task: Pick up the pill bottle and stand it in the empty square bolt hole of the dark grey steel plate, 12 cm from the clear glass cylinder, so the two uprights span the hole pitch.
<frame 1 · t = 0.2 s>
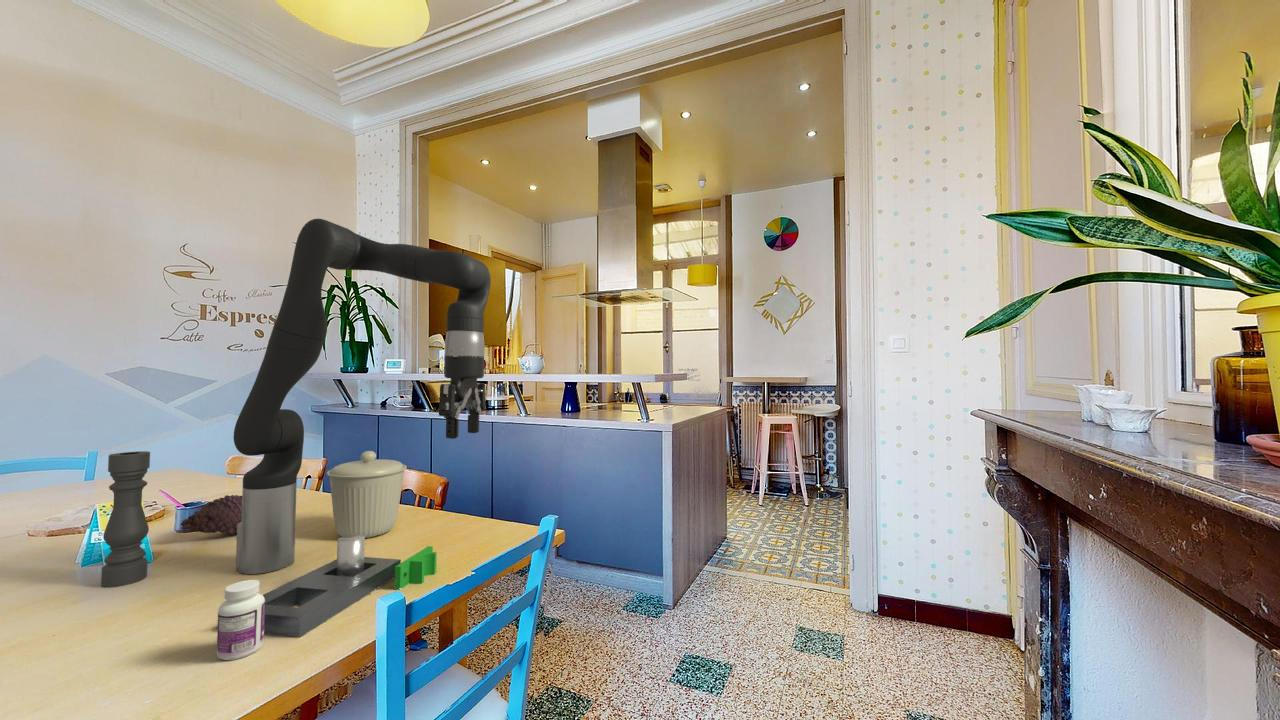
hand: (463, 435, 96), 29 cm above the table, tool pointing down, fingers open, 8 cm apart
pine cone: (227, 536, 121), on the table
canister: (366, 533, 124), on the table
candle holder: (124, 581, 94), on the table
clear glass cylinder: (350, 584, 93), resting in hole plate
pill bottle: (240, 652, 71), on the table
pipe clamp: (419, 579, 97), on the table
hole plate: (325, 598, 87), on the table
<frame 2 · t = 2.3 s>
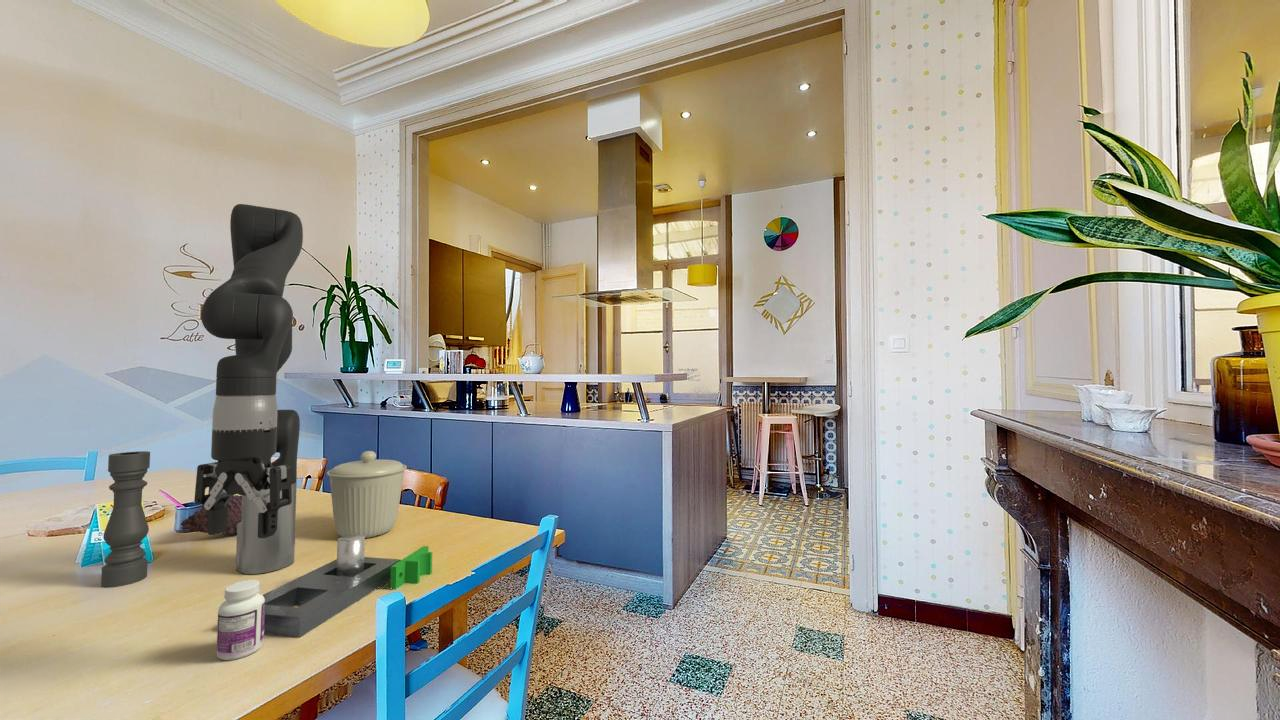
hand: (241, 535, 71), 17 cm above the table, tool pointing down, fingers open, 8 cm apart
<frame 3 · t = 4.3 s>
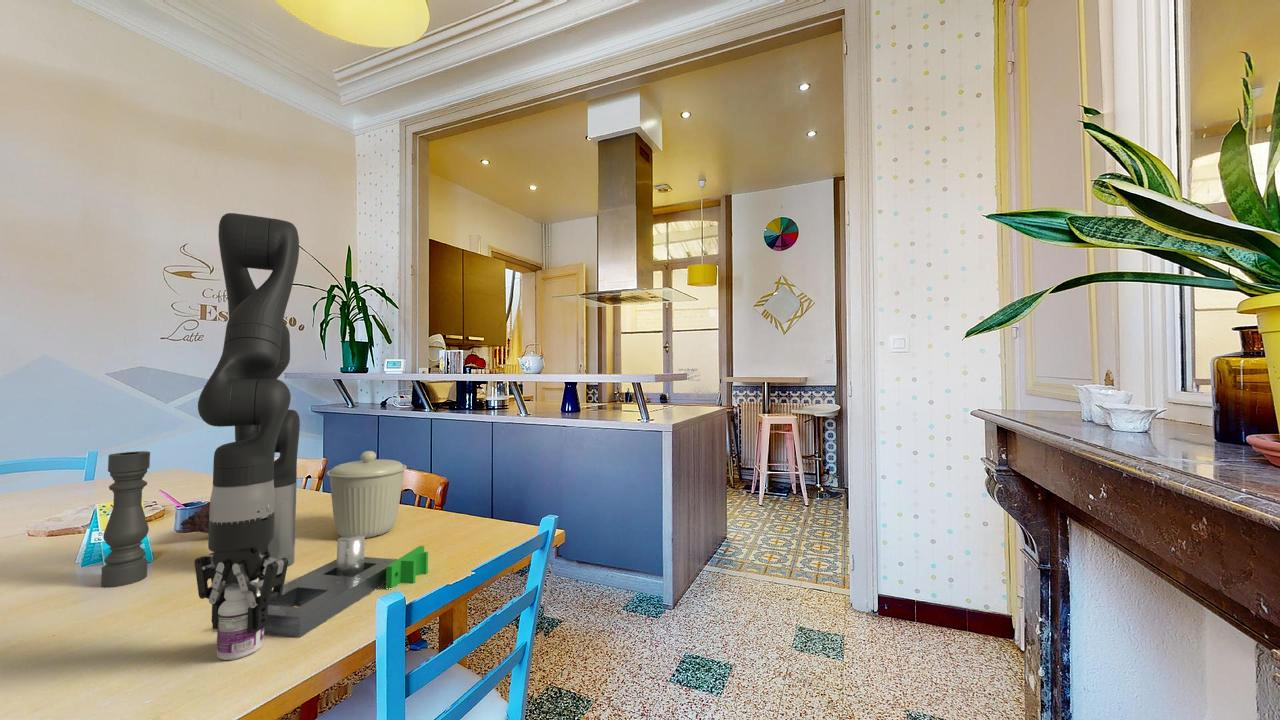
hand: (239, 628, 70), 4 cm above the table, tool pointing down, fingers closed on pill bottle, 5 cm apart
pill bottle: (240, 652, 71), on the table, touching gripper
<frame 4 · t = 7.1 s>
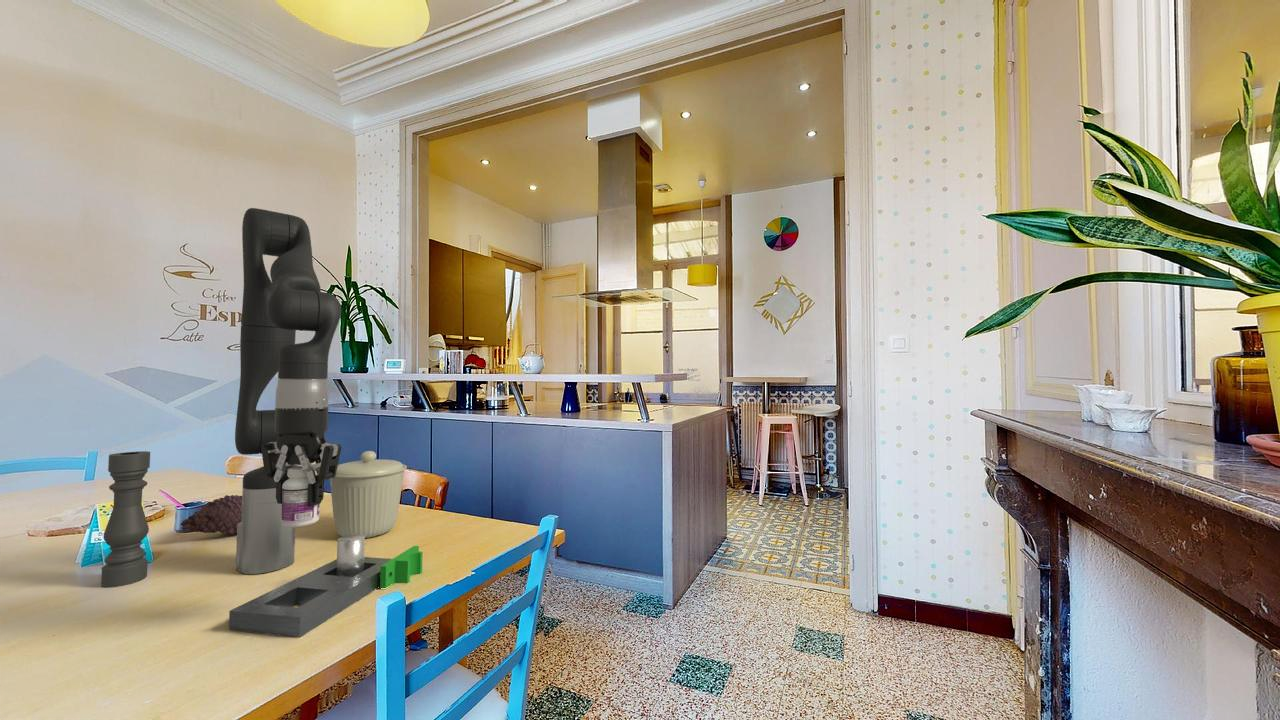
hand: (299, 503, 82), 19 cm above the table, tool pointing down, fingers closed on pill bottle, 5 cm apart
pill bottle: (300, 524, 82), point 15 cm above the table, touching gripper
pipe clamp: (405, 579, 97), on the table
everything else where it was.
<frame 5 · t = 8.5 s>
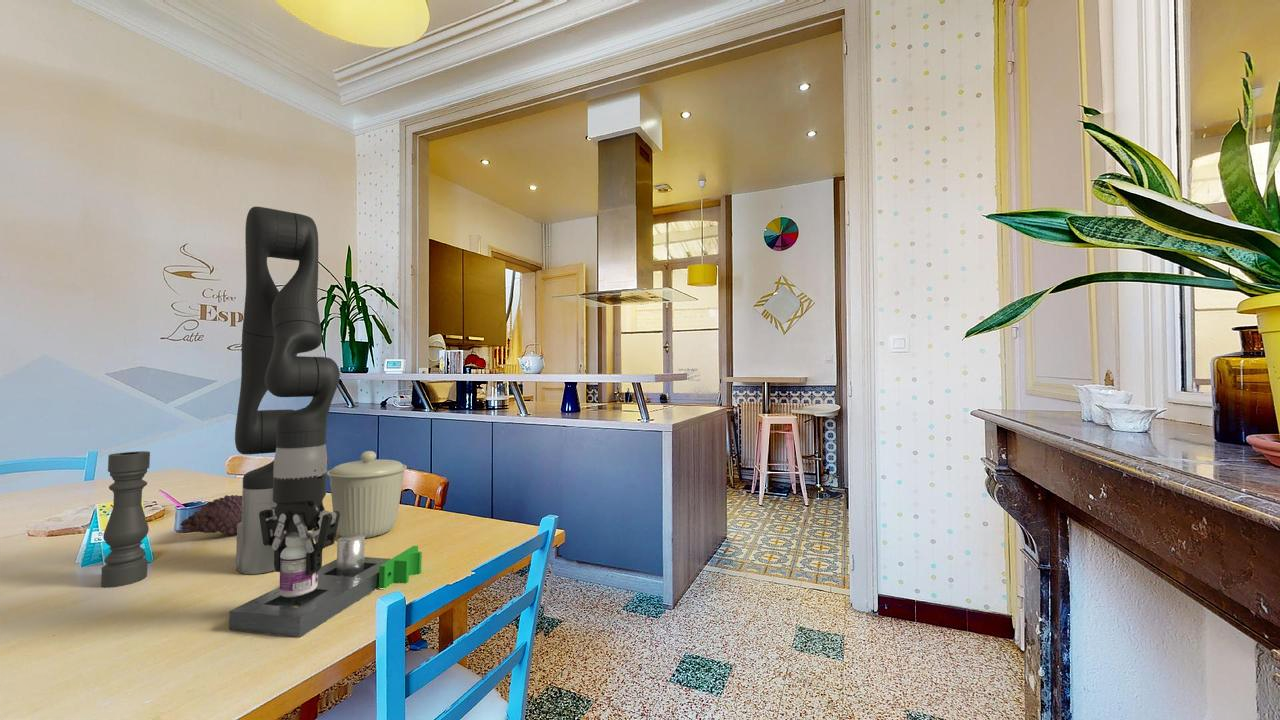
hand: (297, 571, 82), 7 cm above the table, tool pointing down, fingers closed on pill bottle, 5 cm apart
pill bottle: (298, 592, 82), point 4 cm above the table, touching gripper
everything else where it was.
when the fingers open (5 cm above the table, at t = 9.8 s): pill bottle drops 1 cm, resting in hole plate.
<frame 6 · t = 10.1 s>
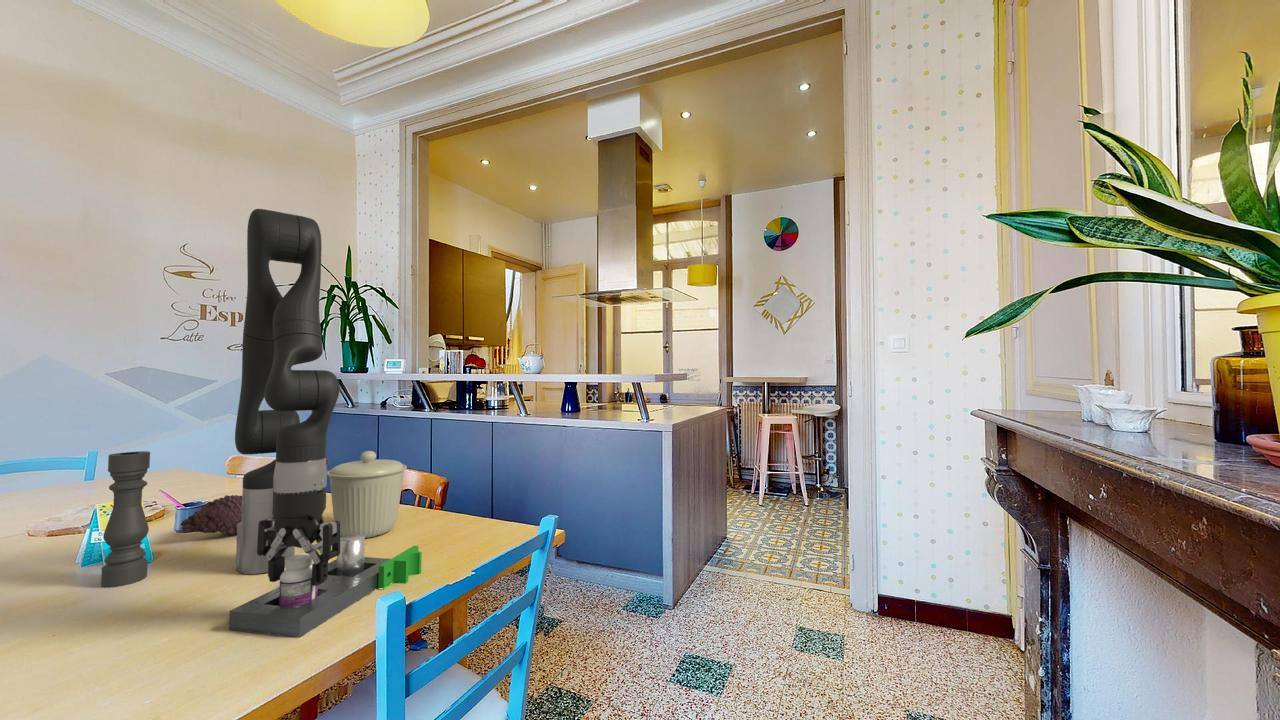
hand: (297, 582, 82), 6 cm above the table, tool pointing down, fingers open, 8 cm apart
pill bottle: (298, 615, 82), resting in hole plate
everything else where it was.
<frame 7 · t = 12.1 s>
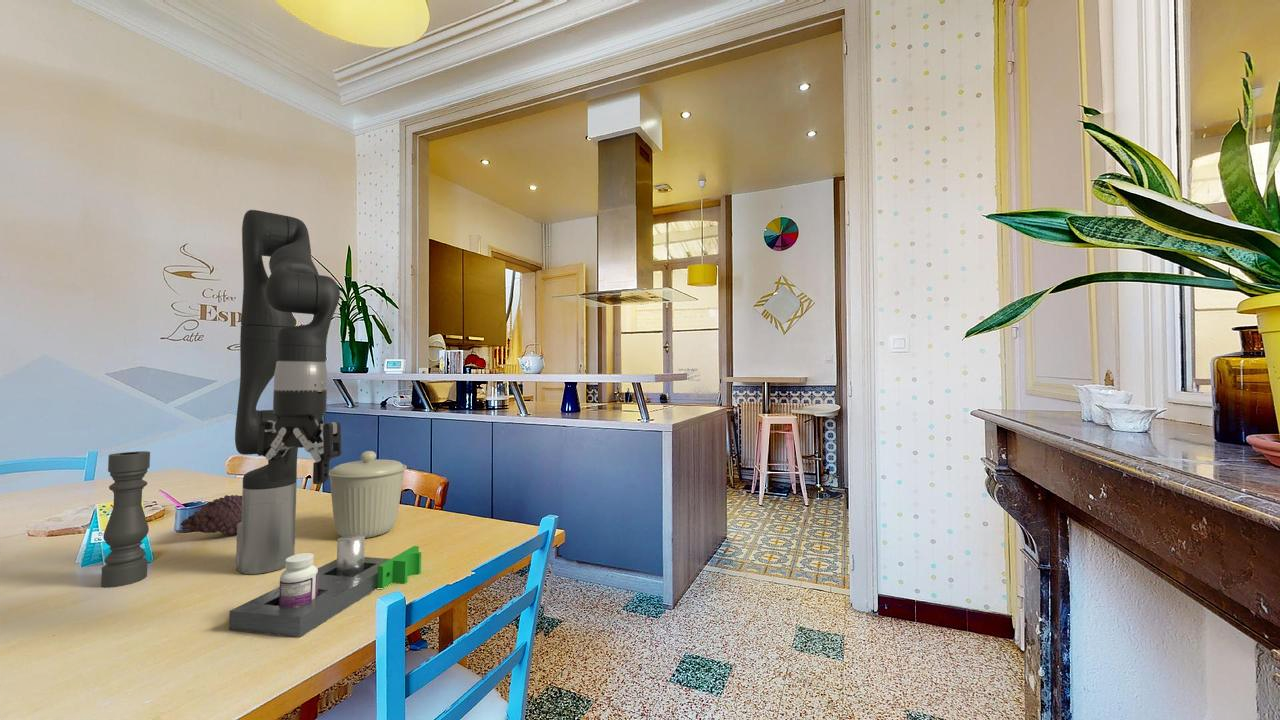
hand: (298, 482, 82), 22 cm above the table, tool pointing down, fingers open, 8 cm apart
nothing on the table moved.
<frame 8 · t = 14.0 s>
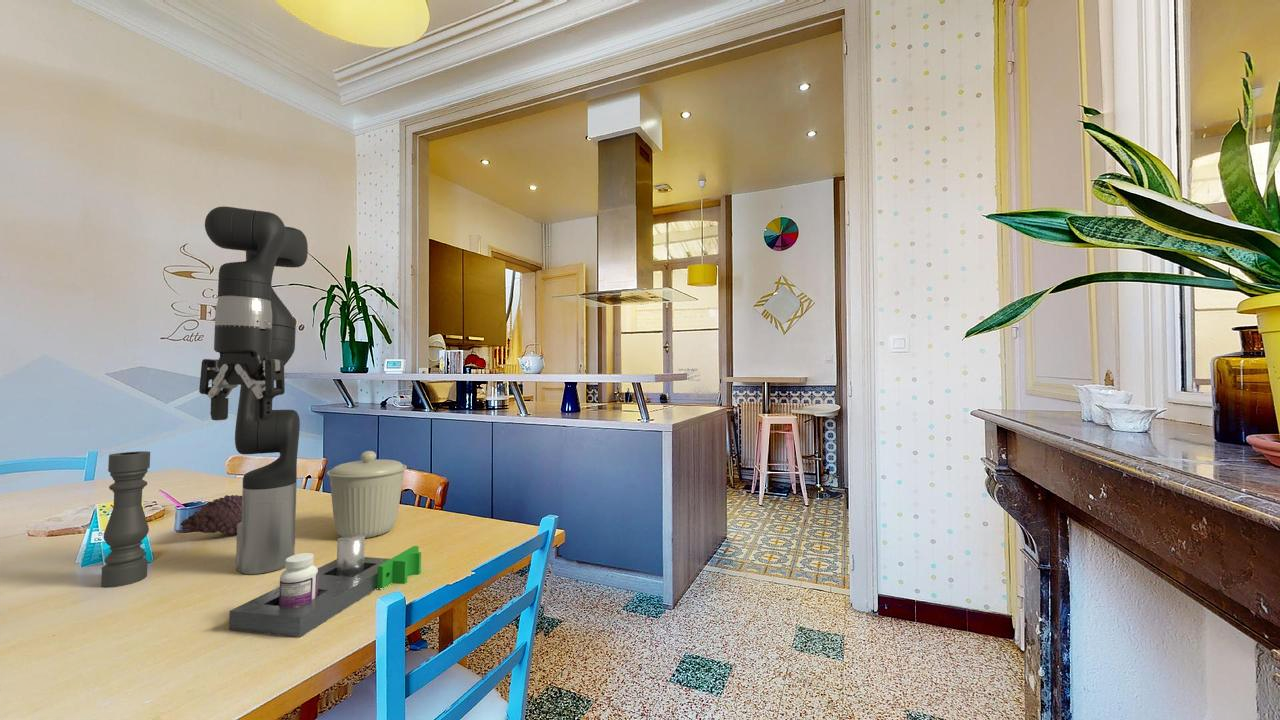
hand: (240, 420, 81), 33 cm above the table, tool pointing down, fingers open, 8 cm apart
nothing on the table moved.
at the end: pill bottle 0.4 cm from the target spot on the hole plate, point 0.0 cm above the hole plate's base; pill bottle tilted 0°; the gripper is holding nothing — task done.
